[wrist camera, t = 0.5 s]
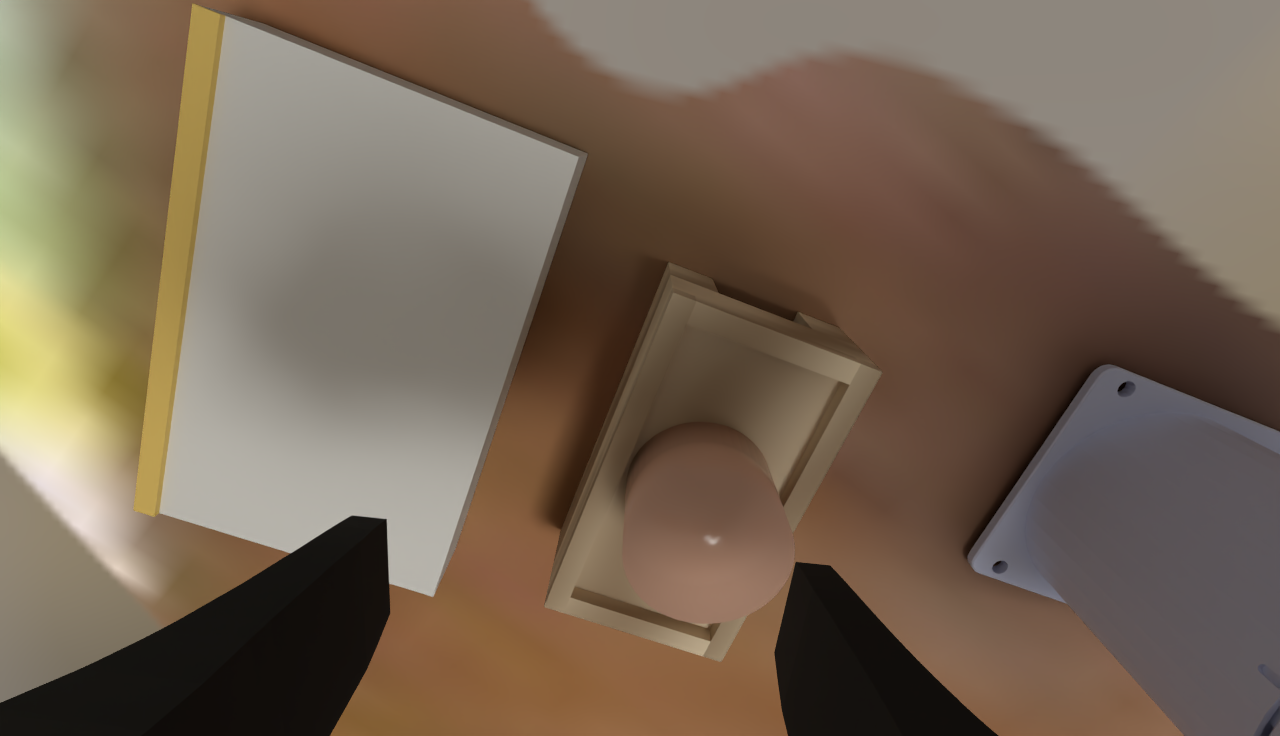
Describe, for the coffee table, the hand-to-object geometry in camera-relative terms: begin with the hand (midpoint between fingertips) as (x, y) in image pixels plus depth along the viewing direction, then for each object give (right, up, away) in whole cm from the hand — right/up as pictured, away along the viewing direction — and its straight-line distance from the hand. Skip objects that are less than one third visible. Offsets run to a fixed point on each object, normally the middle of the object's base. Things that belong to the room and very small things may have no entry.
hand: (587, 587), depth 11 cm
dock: (-7, +5, +8) cm, 12 cm away
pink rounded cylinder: (+3, +1, +6) cm, 7 cm away
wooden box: (+3, +2, +10) cm, 10 cm away
